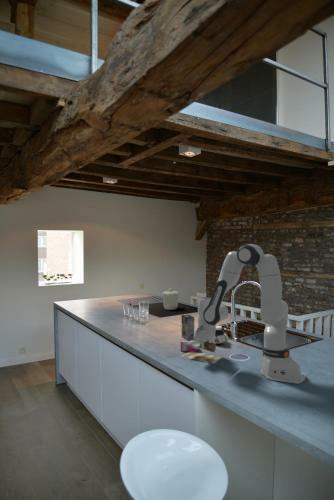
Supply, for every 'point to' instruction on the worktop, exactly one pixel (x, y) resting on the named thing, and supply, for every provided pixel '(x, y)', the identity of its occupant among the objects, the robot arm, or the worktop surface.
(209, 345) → the paddle
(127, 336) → the worktop surface
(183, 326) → the coffee box
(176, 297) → the canister
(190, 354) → the board
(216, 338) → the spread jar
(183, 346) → the supplement box
